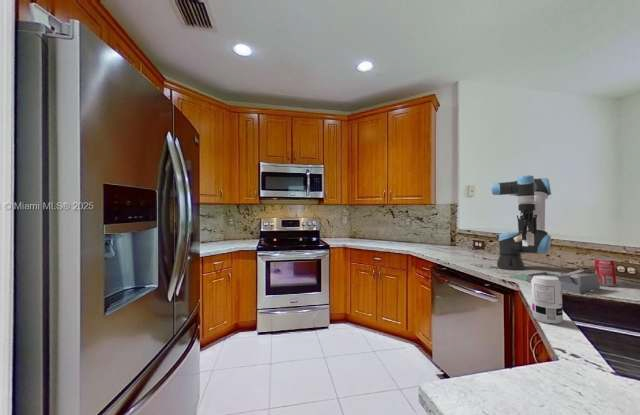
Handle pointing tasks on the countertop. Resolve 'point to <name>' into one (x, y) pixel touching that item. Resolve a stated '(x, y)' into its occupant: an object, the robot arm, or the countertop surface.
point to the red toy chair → (605, 271)
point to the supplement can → (547, 299)
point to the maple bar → (519, 238)
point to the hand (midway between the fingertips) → (528, 245)
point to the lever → (568, 274)
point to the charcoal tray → (574, 282)
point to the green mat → (520, 277)
